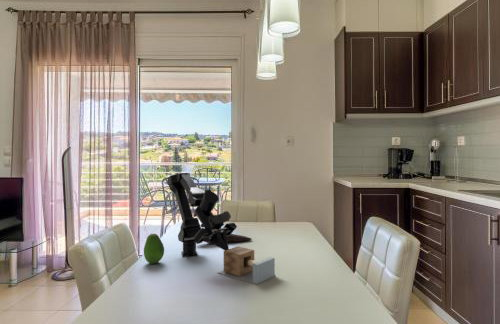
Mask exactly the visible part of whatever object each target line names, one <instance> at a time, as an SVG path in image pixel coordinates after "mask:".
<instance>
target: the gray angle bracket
mask: <svg viewBox="0 0 500 324" xmlns="http://www.w3.org/2000/svg"><path fill="white" fill-rule="evenodd" d="M275 258H276V257H271V256H269V257H267V258H264V259H261V260H260V261H257V260H255V259H254V260H249V261H248V266H252V267H253V271H252V272H250V273H247V274H245V275H242V276H237V275H233V274H230V273H226V272H224V270H221V271H220V272H218V274H219V275H223V276H225V277H228V278H229V277H230V278H232V279H236V280H239V281H243V282H246V283H250V284H252V285H253V284H254V285H259V284H261V283H263V282H265V281H267V280H269V279H272V278H274V277H276V274H275V272H276V271H275V270H276V269H275V267H276V265H275V263H276V262H275V260H276V259H275Z"/></svg>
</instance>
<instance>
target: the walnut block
mask: <svg viewBox="0 0 500 324" xmlns="http://www.w3.org/2000/svg"><path fill="white" fill-rule="evenodd" d="M249 260H254V261H255V250H254V249H251V248H248V247H247V248H246V247H243V246H242V247H241V246H235V247H231V248H229V249H228V250H223V271H224V272H226V273H230V274H233V275H237V276H242V275H245V274H247V273H250V272H252V271H253V267H252V266H248V261H249Z"/></svg>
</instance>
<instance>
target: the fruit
mask: <svg viewBox="0 0 500 324" xmlns="http://www.w3.org/2000/svg"><path fill="white" fill-rule="evenodd" d="M164 254H165V247H164V243H163V241H162V240H161V238H160V236H159V235H158V234H157V233H150V234H149V235H148V236H147V237H146V241H145V243H144V248H143V255H144V259H145V260H146V262H147V263H148V264H152V265H153V264H157V263H159V262H160V261H161V260H162V259H163V257H164Z"/></svg>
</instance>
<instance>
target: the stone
mask: <svg viewBox="0 0 500 324" xmlns="http://www.w3.org/2000/svg"><path fill="white" fill-rule="evenodd" d="M201 229H205V228H204V227H201ZM226 238H227V243H228V242H229V243H232V242H234V243H235V242H247V241H251V240H253V239H252V238H251V237H248V236H245V235H239V234H234V233H232V234H231V235H229V236H226ZM202 239H203V243H206V244H207V243H208V244H210V243H209V242H208V241H209V240H210V239H209V237H205V238H202Z"/></svg>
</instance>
